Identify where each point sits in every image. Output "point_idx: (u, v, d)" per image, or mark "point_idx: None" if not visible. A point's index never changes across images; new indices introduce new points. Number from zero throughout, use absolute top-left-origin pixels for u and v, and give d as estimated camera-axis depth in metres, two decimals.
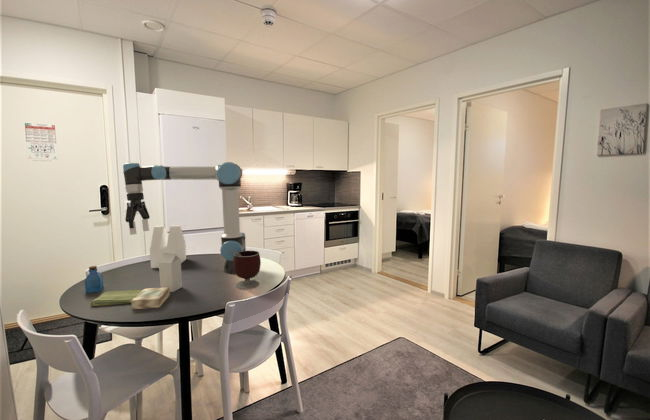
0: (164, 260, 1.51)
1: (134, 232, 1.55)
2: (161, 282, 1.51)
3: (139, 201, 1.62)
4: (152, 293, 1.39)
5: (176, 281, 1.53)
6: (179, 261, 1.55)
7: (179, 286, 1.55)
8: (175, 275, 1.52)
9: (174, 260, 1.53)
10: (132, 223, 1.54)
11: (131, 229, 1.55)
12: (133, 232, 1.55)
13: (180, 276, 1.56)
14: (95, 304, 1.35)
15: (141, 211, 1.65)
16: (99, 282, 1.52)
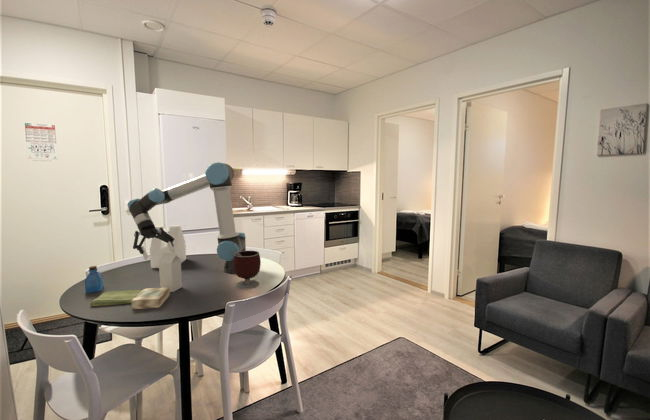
0: (164, 260, 1.51)
1: (145, 255, 1.51)
2: (161, 282, 1.51)
3: (151, 228, 1.63)
4: (152, 293, 1.39)
5: (176, 281, 1.53)
6: (179, 261, 1.55)
7: (179, 286, 1.55)
8: (175, 275, 1.52)
9: (174, 260, 1.53)
10: (140, 248, 1.52)
11: (143, 254, 1.52)
12: (145, 256, 1.51)
13: (180, 276, 1.56)
14: (95, 304, 1.34)
15: (159, 237, 1.63)
16: (99, 282, 1.52)
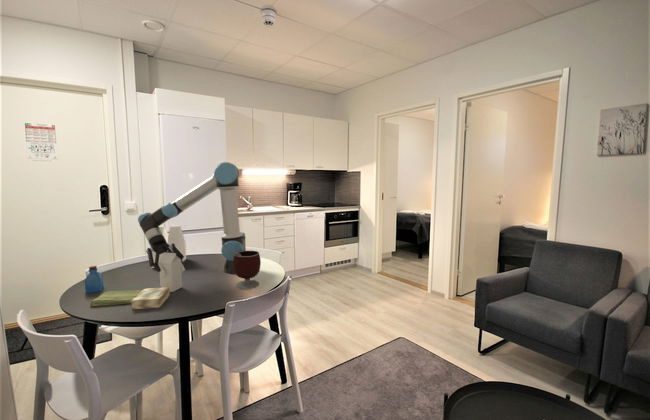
0: (164, 260, 1.51)
1: (163, 273, 1.48)
2: (161, 282, 1.51)
3: (163, 243, 1.59)
4: (152, 293, 1.39)
5: (176, 281, 1.53)
6: (179, 261, 1.55)
7: (179, 286, 1.55)
8: (175, 275, 1.52)
9: (174, 260, 1.53)
10: (157, 266, 1.49)
11: (160, 272, 1.49)
12: (162, 274, 1.48)
13: (180, 276, 1.56)
14: (95, 304, 1.34)
15: None
16: (99, 282, 1.52)
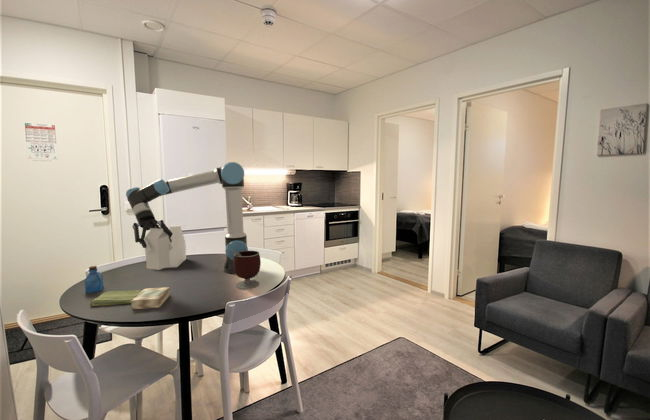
0: (150, 236, 1.43)
1: (148, 250, 1.40)
2: (147, 259, 1.44)
3: (151, 219, 1.51)
4: (152, 293, 1.39)
5: (163, 259, 1.45)
6: (167, 238, 1.47)
7: (166, 264, 1.48)
8: (162, 252, 1.44)
9: (161, 236, 1.45)
10: (143, 242, 1.41)
11: (146, 248, 1.41)
12: (148, 250, 1.40)
13: (168, 253, 1.48)
14: (94, 304, 1.34)
15: None
16: (99, 282, 1.52)
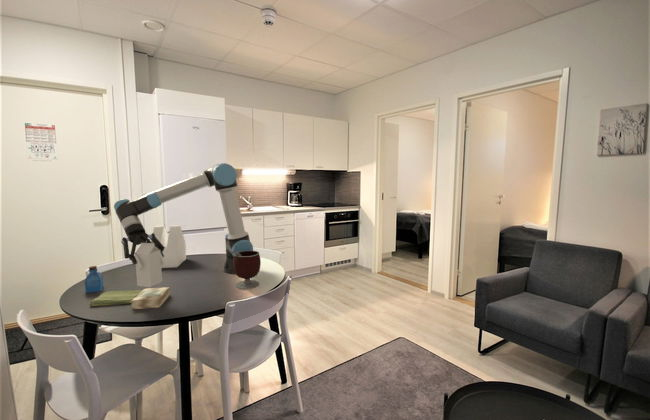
0: (141, 251, 1.34)
1: (139, 266, 1.31)
2: (138, 276, 1.35)
3: (141, 232, 1.42)
4: (152, 293, 1.39)
5: (154, 275, 1.37)
6: (158, 252, 1.39)
7: (158, 280, 1.39)
8: (153, 268, 1.36)
9: (152, 251, 1.36)
10: (133, 258, 1.32)
11: (137, 265, 1.32)
12: (138, 267, 1.32)
13: (159, 269, 1.40)
14: (94, 304, 1.34)
15: None
16: (99, 282, 1.52)
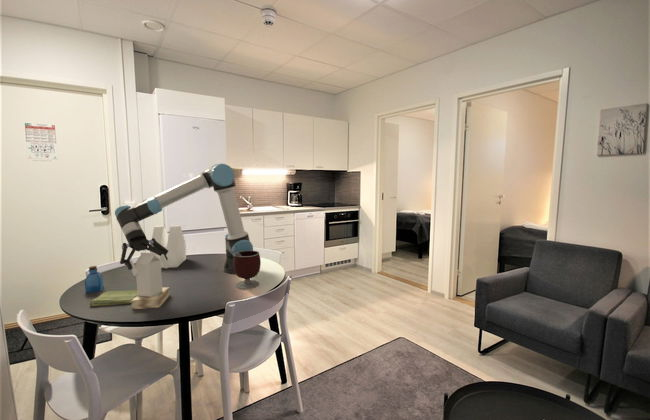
0: (141, 261, 1.35)
1: (134, 271, 1.31)
2: (138, 285, 1.36)
3: (141, 239, 1.42)
4: None
5: (155, 285, 1.37)
6: (159, 262, 1.39)
7: (159, 290, 1.39)
8: (153, 278, 1.36)
9: (153, 261, 1.37)
10: (129, 263, 1.32)
11: (132, 270, 1.32)
12: (134, 272, 1.31)
13: (160, 279, 1.40)
14: (94, 304, 1.34)
15: (151, 249, 1.43)
16: (99, 282, 1.52)
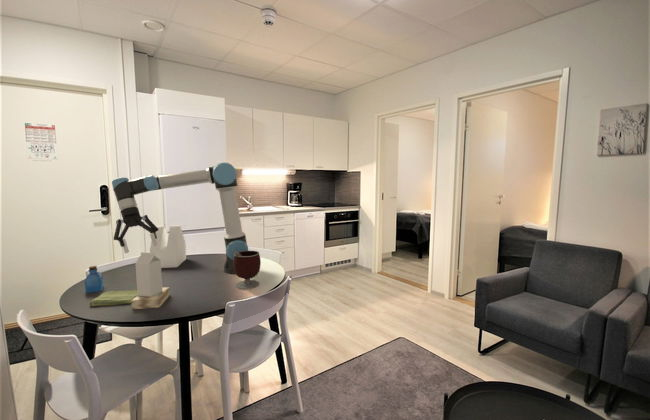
0: (141, 261, 1.35)
1: (126, 250, 1.44)
2: (138, 285, 1.36)
3: (135, 216, 1.52)
4: None
5: (155, 285, 1.37)
6: (159, 262, 1.39)
7: (159, 290, 1.39)
8: (153, 278, 1.36)
9: (153, 261, 1.37)
10: (121, 241, 1.44)
11: (124, 247, 1.45)
12: (125, 250, 1.44)
13: (160, 279, 1.40)
14: (94, 304, 1.35)
15: (143, 226, 1.54)
16: (99, 282, 1.52)
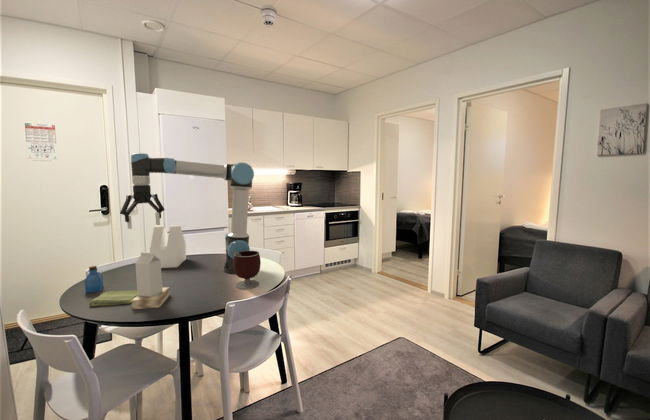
0: (141, 261, 1.35)
1: (129, 226, 1.49)
2: (138, 285, 1.36)
3: (146, 194, 1.54)
4: None
5: (155, 285, 1.37)
6: (159, 262, 1.39)
7: (159, 290, 1.39)
8: (153, 278, 1.36)
9: (153, 261, 1.37)
10: (127, 217, 1.48)
11: (128, 223, 1.49)
12: (129, 226, 1.49)
13: (160, 279, 1.40)
14: (94, 304, 1.35)
15: (150, 204, 1.57)
16: (99, 282, 1.52)
